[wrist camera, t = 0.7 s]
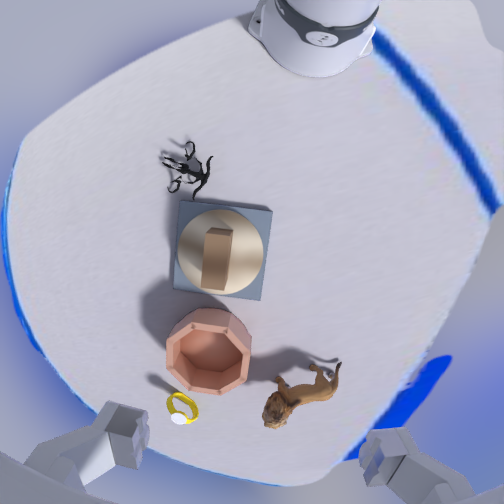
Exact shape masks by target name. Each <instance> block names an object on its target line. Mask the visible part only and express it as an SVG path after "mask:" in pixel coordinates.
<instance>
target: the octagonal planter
mask: <svg viewBox="0 0 504 504" xmlns="http://www.w3.org/2000/svg"><path fill="white" fill-rule="evenodd" d="M251 340H252V336H251V335H250V334H249V333H248V331H247V329H246V327H245V326H244V324H243V323H242V322H241V321H240V320H239V319H238V318H237V317H236V316H235V315H233V314H232V313H229V312H227V311H225V310H222V309H218V308H201V309H200V308H198V309H196V310H195V311H192V312H191V313H189V314H187V315H186V316H185V317H184V318H183V319H182V320H181V321H180V322H179V323H177V324H176V325H175V326H174V327H173V329H172V331H171V333H170V335H169V336H168V338H167V340H166V369H167V370H168V371H169V372H170V373H171V374H172V375H173V376H174V377H175V378H176V379H177V380H178V381H179V382H180V383H181V384H182V385H183V386H184V387H185V388H186V389H187V390H188V391H194V392H200V393H207V394H213V395H220V396H221V395H223V394H224V393H226V392H228V391H230V390H232V389H233V388H235V387H237V386H238V385H240V384H242V383H244V382H245V381H247V374H248V368H249V361H250V355H251Z"/></svg>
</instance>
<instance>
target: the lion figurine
mask: <svg viewBox="0 0 504 504" xmlns="http://www.w3.org/2000/svg"><path fill="white" fill-rule="evenodd" d="M341 364H342V362H340V363H338V364H337V366H336V370H335V373H330V374H329V375H328V377H329V378H330V379H332V380H331V381H330V382H329V381H328V380H327V379H326V378H325V377H324V376H323V370H321V369H320V368H318V366H316V365H311V366H310V367H309V368H310V370H311V371H316V372H317V376H316V378H315V384H314V385H310V384H301V385H296V386H294V387H292V388H291V387H289V386H288V387H286V385H285V381H284V379H283V378H281V377H277V378H276V382H277V383H279V385H278V391H276V392H274V393H272V395H271V396H270V397H269V398H268V400H267V402H266V405H265V407H264V412H263V413H262V418H263V420H264V426H265V427H269V428H273V429H277V428H278V427H280V426H284V425H286V424H287V422H286V420H287V419H288V417H289V415H290V414H292V410H294V409H295V408H296V407H297V406H299V405H303V404H306V403H309V402H313V401H326V400H328V399H330V398H331V397H332V396H333V394H334V393H335V391H336V390H337V387H338V371H339V368H340V366H341Z"/></svg>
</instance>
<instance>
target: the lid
mask: <svg viewBox="0 0 504 504" xmlns="http://www.w3.org/2000/svg"><path fill="white" fill-rule="evenodd" d="M178 260H179V264H180V267H181V269H182V271H183V273H184V274H185V276H186V277H187V279H188V280H189V281H190V282H191V283H192V284H194V285H195V286H196V287H198V288H199V289H201V290H203V291H205V292H208V293H212V294H220V295H223V294H231V293H235V292H237V291H240V290H242V289H243V288H245V287H247V286H248V285H249V284H250V283H251V282H252V281H253V280H254V279H255V277H256V276H257V275H258V273H259V271H260V268H261V265H262V261H263V245H262V240H261V237H260V235H259V233H258V231H257V229H256V228H255V226H254V225H253V224H252V223H251V222H250V221H249V220H248V219H247V218H245V217H244V216H242V215H240V214H238V213H236V212H233V211H229V210H221V209H218V210H211V211H207V212H204V213H202V214H200V215H198V216H197V217H195V218H194V219H192V220H191V221H190V222H189V223H188V224H187V226H186V227H185V228H184V230H183V232H182V234H181V236H180V239H179V242H178Z"/></svg>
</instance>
